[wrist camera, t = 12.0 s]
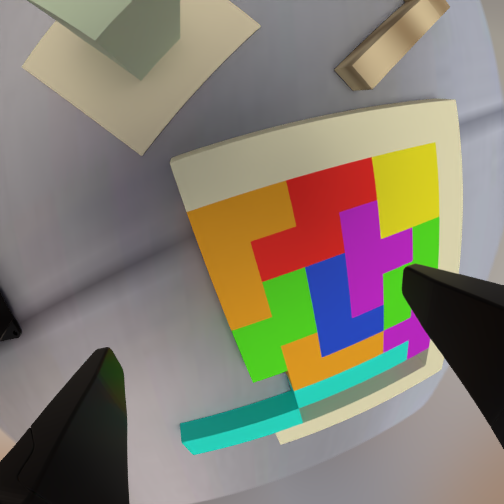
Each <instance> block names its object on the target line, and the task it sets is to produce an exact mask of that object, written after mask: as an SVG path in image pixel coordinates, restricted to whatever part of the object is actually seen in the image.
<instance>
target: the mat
mask: <svg viewBox="0 0 504 504" xmlns="http://www.w3.org/2000/svg"><path fill="white" fill-rule="evenodd" d="M260 27H261V26H260V25H259V24H258V23H257V22H256V21H254V20H253V19H252V18H251V17H249V16H248V15H247V14H246V13H244V12H243V11H242V10H241V9H239V8H238V7H237V6H235V5H234V4H233V3H231V2H230V1H229V0H180V39H179V40H178V41H177V42H176V43H175V44H174V45H173V46H172V47H171V48H170V50H169V51H168V52H167V53H166V54H165V55H164V56H163V57H162V58H161V59H160V60H159V61H158V62H157V63H156V65H155V66H154V67H153V68H152V69H151V70H150V71H149V72H148V74H147V75H146V76H145V77H144V78H143V79H142V81H140V80H139V79H138V78H136V77H135V76H134V75H132V74H131V73H129V72H128V71H127V70H125V69H124V68H123V67H121V66H120V65H118V64H117V63H116V62H114V61H113V60H111V59H110V58H108V57H107V56H106V55H104V54H103V53H101V52H100V51H98V50H97V49H95V48H94V47H93V46H91V45H90V44H88V43H87V42H85V41H84V40H82V39H81V38H80V37H78V36H77V35H76V34H74V33H73V32H71V31H70V30H69V29H67V28H66V27H65V26H63V25H62V24H60V23H59V22H58V21H55V22H54V24H53V25H52V26H51V27H50V29H49V30H48V31H47V32H46V34H45V35H44V36H43V38H42V39H41V40H40V42H39V43H38V44H37V46H36V47H35V48H34V50H33V51H32V53H31V54H30V55H29V57H28V58H27V60H26V61H25V63H24V64H23V66H22V68H24V69H25V70H27V71H28V72H29V73H31V74H32V75H33V76H35V77H36V78H37V79H39V80H40V81H41V82H43V83H44V84H46V85H47V86H48V87H50V88H51V89H52V90H54V91H55V92H56V93H58V94H59V95H60V96H62V97H63V98H65V99H66V100H67V101H69V102H70V103H71V104H73V105H74V106H75V107H77V108H78V109H79V110H81V111H82V112H83V113H85V114H86V115H87V116H89V117H90V118H91V119H93V120H94V121H95V122H97V123H98V124H100V125H101V126H102V127H104V128H105V129H106V130H108V131H109V132H110V133H112V134H113V135H114V136H116V137H117V138H118V139H120V140H121V141H122V142H124V143H125V144H126V145H128V146H129V147H130V148H132V149H133V150H134V151H136V152H137V153H138V154H140V155H141V156H143V154H144V153H145V152H146V150H147V149H148V148H149V146H150V145H151V144H152V143H153V141H154V140H155V139H156V138H157V136H158V135H159V134H160V133H161V131H162V130H163V129H164V128H165V126H166V125H167V124H168V123H169V122H170V120H171V119H172V118H173V117H174V116H175V114H176V113H177V112H178V111H179V110H180V109H181V107H182V106H183V105H184V104H185V103H186V102H187V101H188V99H189V98H190V97H191V96H192V95H193V94H194V93H195V92H196V90H197V89H198V88H199V87H200V86H201V85H202V84H203V83H204V82H205V81H206V80H207V79H208V78H209V76H210V75H211V74H212V73H213V72H214V71H215V70H216V69H217V68H218V67H219V66H220V65H221V64H222V63H223V62H224V61H225V60H226V59H227V58H228V57H229V56H230V55H231V54H232V53H233V52H234V51H235V50H236V49H237V48H238V47H239V46H240V45H241V44H242V43H244V42H245V41H246V40H247V39H248V38H249V37H250V36H251V35H252V34H253V33H254V32H255V31H257V30H258V29H259V28H260Z"/></svg>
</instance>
